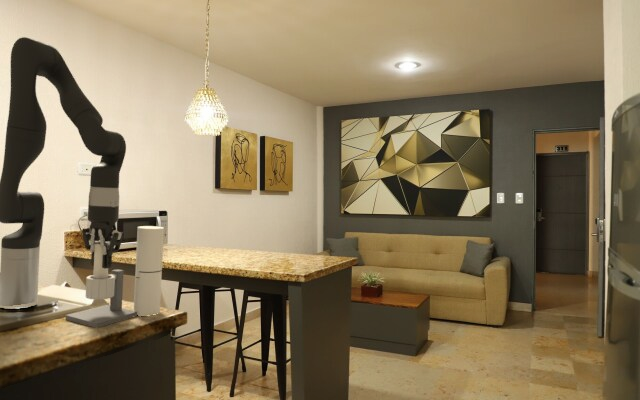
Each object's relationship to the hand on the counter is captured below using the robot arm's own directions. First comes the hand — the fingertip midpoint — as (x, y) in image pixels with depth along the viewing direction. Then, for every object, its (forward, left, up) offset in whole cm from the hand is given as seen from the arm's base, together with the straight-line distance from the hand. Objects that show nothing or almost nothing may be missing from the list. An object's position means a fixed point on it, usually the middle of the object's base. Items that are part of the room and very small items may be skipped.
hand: (101, 266), depth 122 cm
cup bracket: (0, +1, -14) cm, 14 cm away
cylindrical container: (+6, +11, -15) cm, 19 cm away
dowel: (0, 0, -4) cm, 4 cm away
